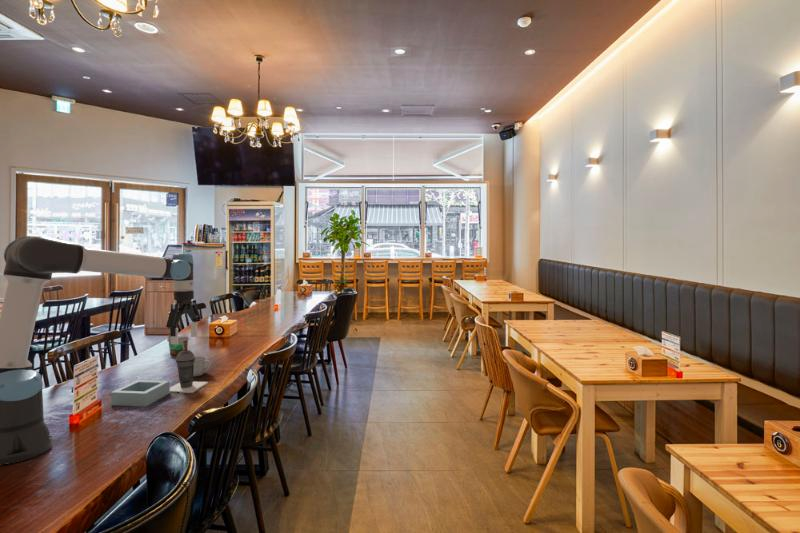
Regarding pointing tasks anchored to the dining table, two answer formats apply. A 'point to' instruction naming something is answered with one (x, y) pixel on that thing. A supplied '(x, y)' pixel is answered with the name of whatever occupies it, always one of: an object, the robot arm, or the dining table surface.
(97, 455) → the dining table surface
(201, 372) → the teacup
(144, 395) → the grey square tray
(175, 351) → the food container
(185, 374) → the beverage cup
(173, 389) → the grey mat
